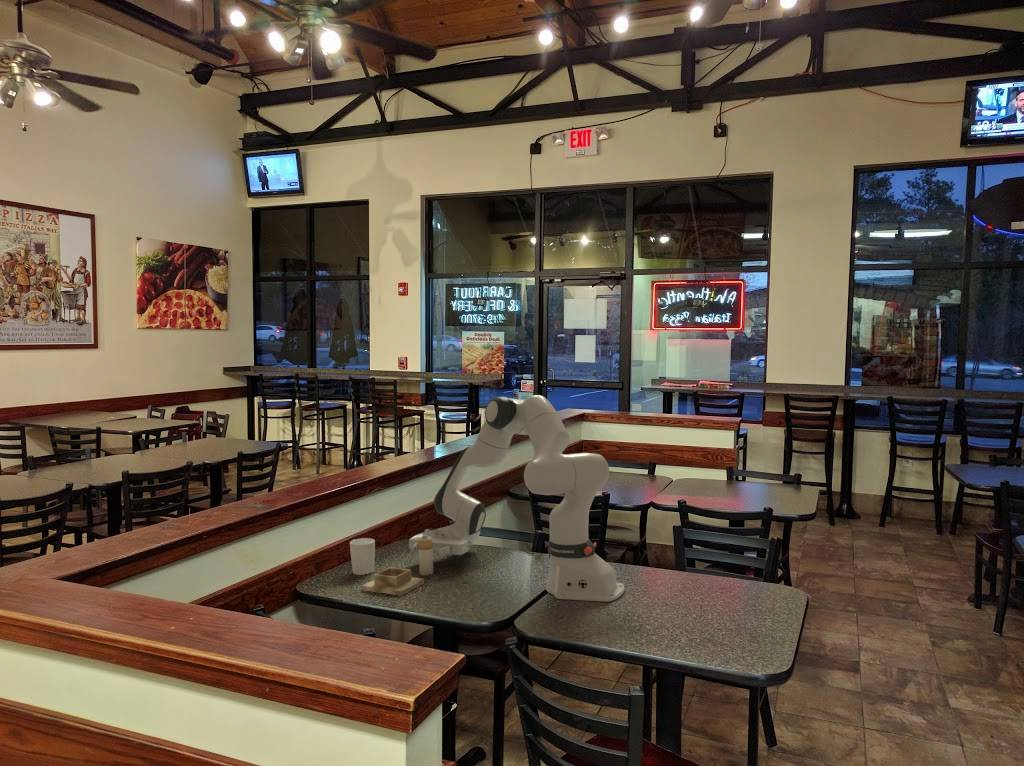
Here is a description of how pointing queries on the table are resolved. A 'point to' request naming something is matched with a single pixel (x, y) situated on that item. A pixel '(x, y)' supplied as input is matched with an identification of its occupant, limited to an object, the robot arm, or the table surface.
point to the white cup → (362, 555)
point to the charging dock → (393, 582)
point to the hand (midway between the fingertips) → (425, 551)
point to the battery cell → (425, 555)
